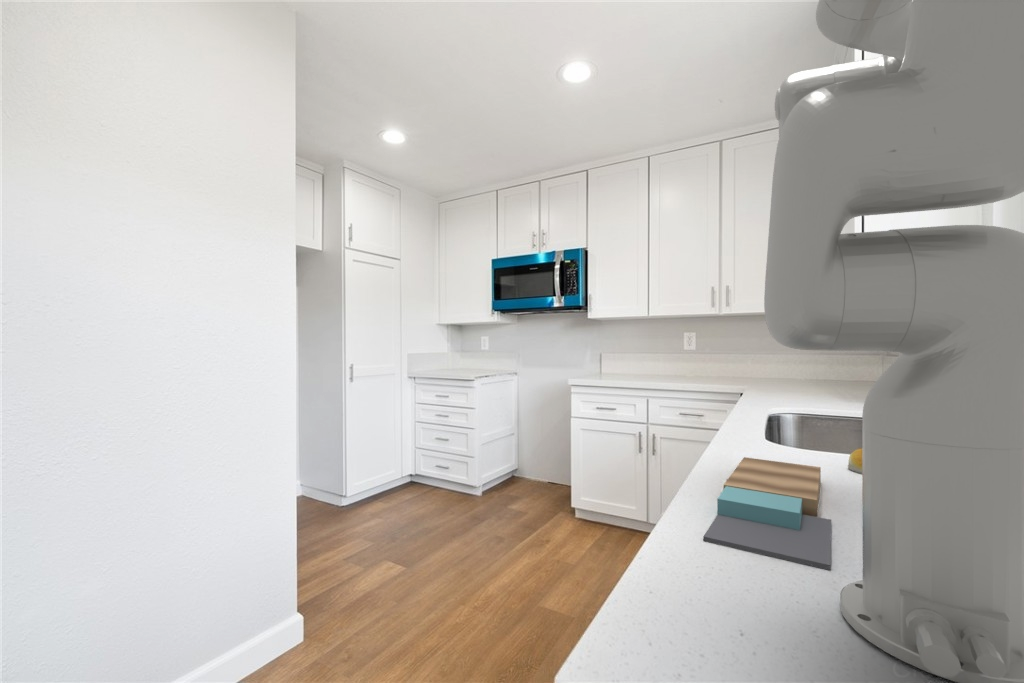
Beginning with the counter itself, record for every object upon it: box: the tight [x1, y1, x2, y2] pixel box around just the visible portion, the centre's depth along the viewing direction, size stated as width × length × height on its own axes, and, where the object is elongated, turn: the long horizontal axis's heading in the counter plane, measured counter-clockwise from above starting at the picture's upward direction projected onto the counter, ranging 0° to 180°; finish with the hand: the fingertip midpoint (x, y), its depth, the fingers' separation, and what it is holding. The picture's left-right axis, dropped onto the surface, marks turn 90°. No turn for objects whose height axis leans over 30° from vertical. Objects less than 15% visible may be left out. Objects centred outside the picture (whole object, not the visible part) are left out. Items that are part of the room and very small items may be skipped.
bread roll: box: [847, 448, 862, 475], centre depth 79 cm, size 8×9×4 cm
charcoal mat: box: [702, 514, 832, 571], centre depth 55 cm, size 14×12×1 cm
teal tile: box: [716, 486, 802, 530], centre depth 59 cm, size 6×9×2 cm, turn 55°
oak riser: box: [723, 457, 822, 517], centre depth 69 cm, size 18×11×2 cm, turn 145°
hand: (807, 299), depth 71 cm, fingers closed
